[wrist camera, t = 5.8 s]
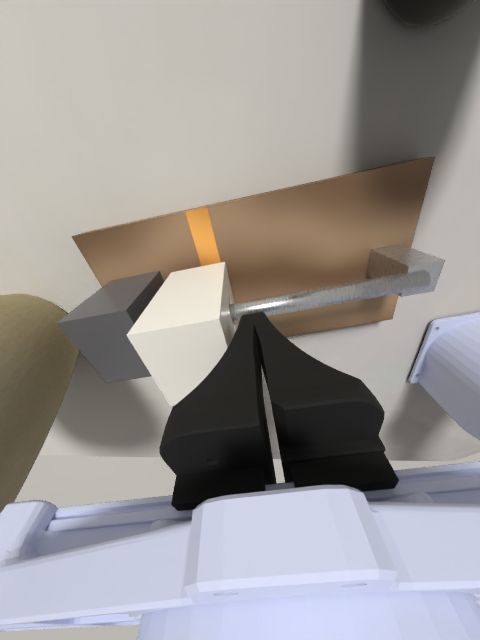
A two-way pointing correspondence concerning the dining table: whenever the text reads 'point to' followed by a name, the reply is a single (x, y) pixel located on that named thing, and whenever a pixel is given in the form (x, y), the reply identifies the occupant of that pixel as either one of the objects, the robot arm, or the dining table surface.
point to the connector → (112, 326)
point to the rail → (358, 284)
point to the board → (279, 241)
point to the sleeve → (185, 329)
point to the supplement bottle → (425, 10)
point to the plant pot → (29, 383)
